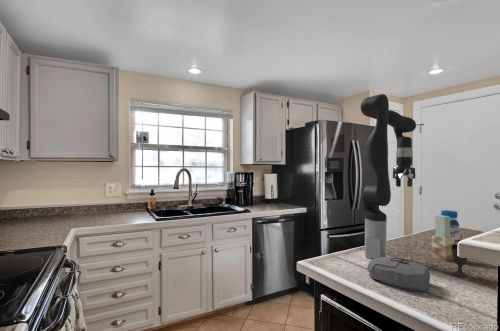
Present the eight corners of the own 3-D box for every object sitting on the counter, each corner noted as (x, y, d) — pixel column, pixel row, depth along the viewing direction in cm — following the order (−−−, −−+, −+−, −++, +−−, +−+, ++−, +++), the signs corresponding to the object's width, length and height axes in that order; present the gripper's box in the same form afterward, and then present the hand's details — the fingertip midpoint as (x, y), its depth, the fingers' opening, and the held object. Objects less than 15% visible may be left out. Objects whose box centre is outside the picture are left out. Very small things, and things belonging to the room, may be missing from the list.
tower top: (453, 248, 121) (453, 237, 121) (445, 249, 119) (445, 238, 119) (440, 245, 127) (440, 234, 127) (431, 246, 125) (431, 235, 125)
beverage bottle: (458, 249, 137) (458, 210, 138) (460, 253, 130) (460, 212, 130) (438, 246, 142) (438, 209, 142) (439, 250, 135) (439, 211, 135)
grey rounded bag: (432, 282, 96) (373, 268, 109) (432, 259, 96) (373, 248, 109) (426, 297, 84) (361, 280, 97) (426, 271, 84) (361, 257, 97)
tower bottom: (454, 259, 121) (454, 248, 121) (445, 261, 119) (445, 250, 119) (440, 255, 127) (440, 245, 127) (431, 257, 125) (431, 246, 125)
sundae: (466, 272, 106) (466, 234, 106) (474, 278, 99) (474, 238, 100) (446, 270, 108) (446, 233, 108) (453, 276, 101) (453, 237, 102)
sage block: (450, 237, 122) (449, 216, 122) (444, 238, 120) (444, 217, 121) (441, 235, 126) (440, 215, 126) (435, 236, 124) (435, 215, 124)
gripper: (401, 155, 136) (401, 187, 136) (420, 156, 142) (419, 187, 141) (388, 156, 143) (388, 186, 143) (407, 157, 149) (406, 186, 148)
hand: (404, 186), depth 142 cm, fingers open, 8 cm apart
